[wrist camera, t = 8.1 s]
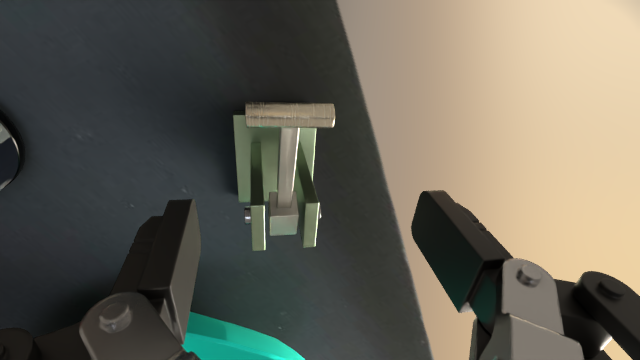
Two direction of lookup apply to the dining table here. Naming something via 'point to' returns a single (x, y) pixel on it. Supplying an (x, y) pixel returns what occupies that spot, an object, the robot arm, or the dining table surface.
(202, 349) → the table top decor
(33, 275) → the dining table surface
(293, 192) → the switch lever
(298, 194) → the switch bracket
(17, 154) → the supplement container
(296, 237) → the dining table surface
